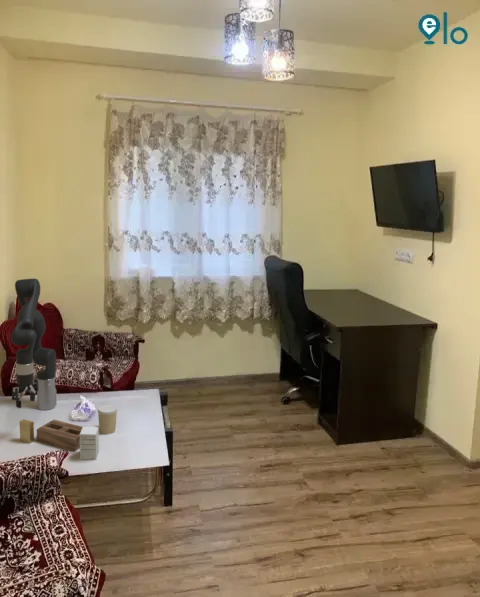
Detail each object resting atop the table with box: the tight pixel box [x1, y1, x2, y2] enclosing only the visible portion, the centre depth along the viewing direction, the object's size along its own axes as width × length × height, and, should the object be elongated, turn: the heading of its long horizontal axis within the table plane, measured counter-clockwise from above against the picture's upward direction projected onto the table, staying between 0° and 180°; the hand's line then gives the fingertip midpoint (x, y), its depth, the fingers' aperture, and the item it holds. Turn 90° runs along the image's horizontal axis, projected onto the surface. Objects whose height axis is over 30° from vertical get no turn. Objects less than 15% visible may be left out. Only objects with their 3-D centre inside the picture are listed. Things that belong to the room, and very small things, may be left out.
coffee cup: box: [97, 404, 118, 435], centre depth 261 cm, size 9×9×12 cm
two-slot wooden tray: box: [36, 419, 84, 452], centre depth 249 cm, size 12×22×6 cm, turn 69°
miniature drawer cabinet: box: [79, 426, 100, 461], centre depth 237 cm, size 7×7×13 cm
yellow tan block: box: [19, 418, 35, 444], centre depth 247 cm, size 2×6×10 cm, turn 69°
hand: (25, 404), depth 244 cm, fingers open, 8 cm apart
